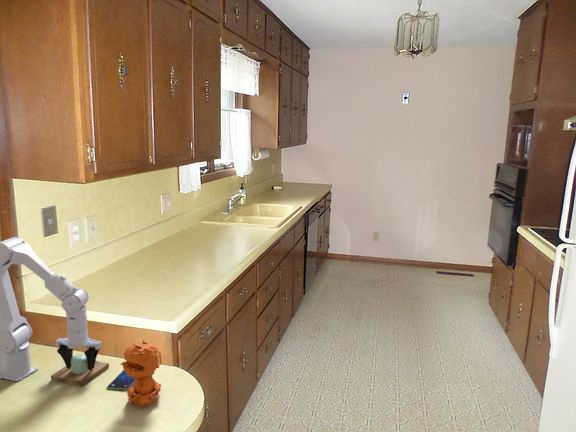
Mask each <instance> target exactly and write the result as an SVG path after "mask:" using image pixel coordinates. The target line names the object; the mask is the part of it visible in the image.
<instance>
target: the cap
mask: <svg viewBox="0 0 576 432" xmlns="http://www.w3.org/2000/svg"><path fill="white" fill-rule="evenodd" d="M71 369H72V372H73V373H75V374H79V373H84V372H86V371H88V363H87V358H86V356H85V354H84V353H79V354H75V355H73V357H72V358H71Z"/></svg>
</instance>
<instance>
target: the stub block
mask: <svg viewBox="0 0 576 432" xmlns="http://www.w3.org/2000/svg"><path fill="white" fill-rule="evenodd" d="M109 368H110V363H108V362H104V361H97V360H95V365H94V368H93V369H92V370H88V371H86V372H84V373H79V374H75V373H73V372H72V369H71V367H70V368H67V367H66V366H65V367H64V366H63V368H61V369H59V370H57V372H54V373H53V374H51V375H50V380H51V381H54V382H59V383H64V384H70V385H75V386H80V387H84V386H85V385H87V384H89V383H90V382H91V381H93V380H94V379H96V378H97V377H98V376H99V375H101V374H102V373H104V372H106V370H108V369H109Z"/></svg>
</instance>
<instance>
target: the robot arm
mask: <svg viewBox="0 0 576 432" xmlns="http://www.w3.org/2000/svg"><path fill="white" fill-rule="evenodd" d="M12 265H23V266H25V268H27V269H28V270H30V271H31V272H32V273H33V274H35V275H36V276H38V278H40V279H42V281H43V282H44V288H46V289H47V290H48V291H49V292H50V293H51V294H52V295H53V296H54V297H56V299H57V300H59V301H60V302H61V304H60V306H61V307H62V309H63V311H65V314H66V315H65V316H66V317H65V318H66V326H67V337H59V338H58V339H56V340H55V344H56V345H55V347H58V348H57V349H56V352H57V353H58V354H59V356H61V358H62V360H63V362H64V364H65V367H67V368H70V367H71V358H72V357H73V356H74V355H73V354H74V353H73V352H74V351H73V350H74V349H75V348H85V349H86V348H87V349H86V350H85V351H84V353H83V354H85V356H86V358H87V363H88V370H92V369H93V368H94V365H95V361H97V356H98V354H99V352H100V350H101V348H102V341H99V340H95V339H93V338H89V334H88V333H89V331H88V318H87V317H88V316H87V306H86V304H87V303H88V301H89V294H88V293H87V291H86V290H85V289H84V288H82V287H77V286H76V285H74V284H73V283H72V282H70V280H68V279H67V276H66V275H65V274H61V273H59V272H58V273H56V272H53V270H51V269H50V267H49V266H47V265H46V264H45V262H44V261H43V260H42V259H41V258H40V257H39V256H38V255H37V254H36V253H35V252H34V251H33V248H32V246H31V245H30V244H29V243H28V242H26V241H25V240H24V239H23V238H22V237H20V236H12V237H10V238H8V239H7V238H6V239H5V240H2V241H0V379H2V378H4V379H3V380H9V381H14V382H19V381H21V380H22V379H24V378H26V377H27V376H29V375H31V374H33V373H34V372H36V371H38V370H39V369H38V367H36V366H35V367H34V366H32V364H31V363H32V362H31V352H30V339H31V338H32V336H33V329H32V327H31V326H30V324H29V323H28V320H27V318H26V317H24V316H22V315H20V309H19V307H18V303H17V299H16V295H15V291H14V287H13V285H12V281H11V278H10V273H9V268H10V267H11V266H12Z"/></svg>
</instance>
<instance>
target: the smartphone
mask: <svg viewBox="0 0 576 432" xmlns="http://www.w3.org/2000/svg"><path fill="white" fill-rule="evenodd" d="M135 380H136V379H133V378H132V377H131V376H128V375H127V374H126V372H125V371H124V369H123V370H122V371H121V372H120V373H119V374H118V375H117V376H115V378H114V379H113V380H112V381H111V382H110V383H109V384H108V385H107V386H106V390H107V391H119V392H127V390H129V389H130V388H131V387H132V386H133V385H134V382H135Z"/></svg>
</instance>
